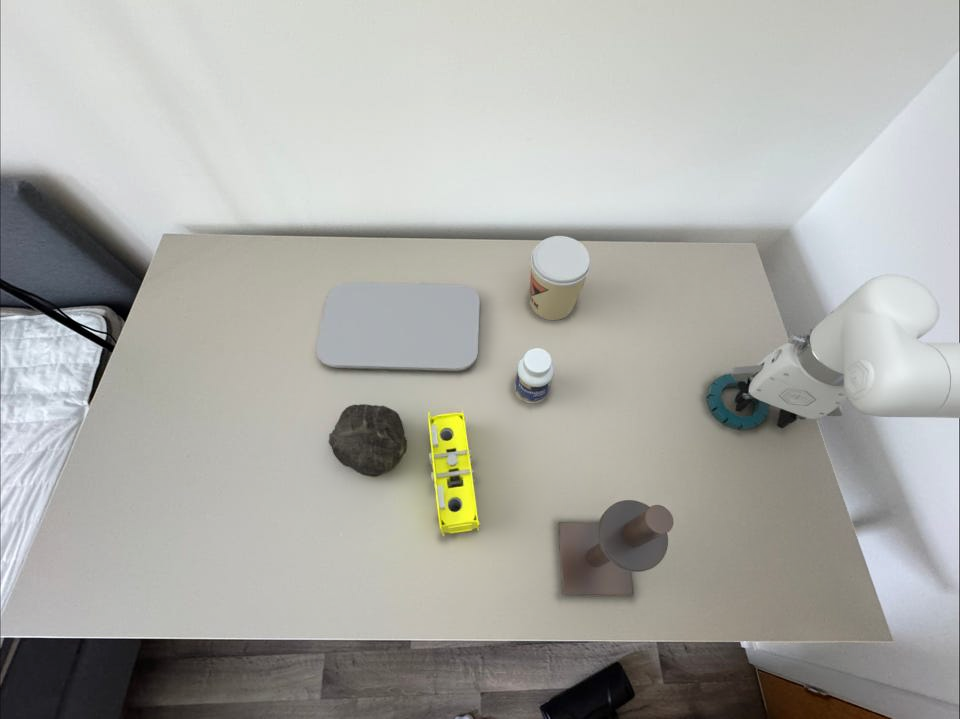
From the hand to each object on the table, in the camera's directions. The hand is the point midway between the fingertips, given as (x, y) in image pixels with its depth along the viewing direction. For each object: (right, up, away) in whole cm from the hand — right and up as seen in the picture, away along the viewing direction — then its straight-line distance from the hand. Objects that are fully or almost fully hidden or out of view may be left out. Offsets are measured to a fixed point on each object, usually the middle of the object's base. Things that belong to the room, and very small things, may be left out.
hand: (760, 410), depth 77 cm
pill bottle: (-35, +3, +2) cm, 35 cm away
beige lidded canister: (-31, +18, +10) cm, 37 cm away
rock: (-59, -5, -2) cm, 60 cm away
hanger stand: (-28, -19, -10) cm, 35 cm away
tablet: (-57, +13, +8) cm, 58 cm away
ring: (-3, +1, +1) cm, 4 cm away
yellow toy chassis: (-47, -9, -4) cm, 48 cm away
